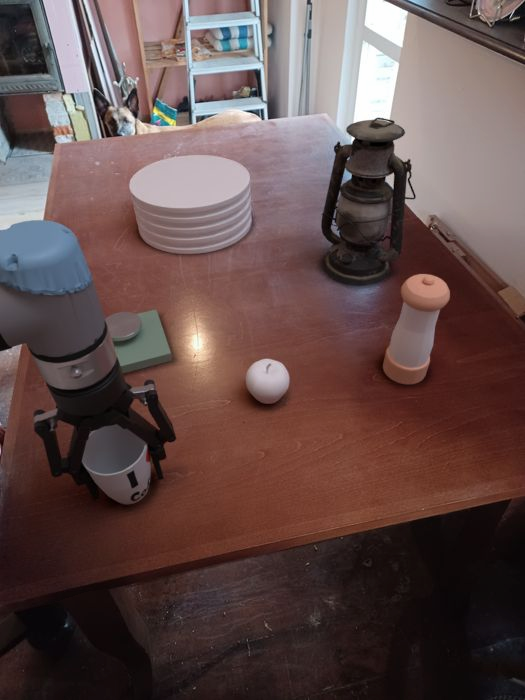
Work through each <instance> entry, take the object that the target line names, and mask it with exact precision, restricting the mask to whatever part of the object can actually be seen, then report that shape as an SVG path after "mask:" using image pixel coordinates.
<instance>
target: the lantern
mask: <svg viewBox="0 0 525 700" xmlns="http://www.w3.org/2000/svg"><path fill="white" fill-rule="evenodd" d="M345 131H346V133H347V134H348V136H350V137H352V138H354V139H353V140H352V141H351V143H349V144H343V145H341V141H337V142H336V144H335V145H334V146H333V152H334V154H335V155H334V159H333V164H332V169H331V174H330V179H329V183H328V188H327V193H326V197H325V203H324V207H323V211H322V213H321V222H320V223H321V224H320V228H321V232H322V235H323V236H324V238H325V239H326V240H327V241H328V242H329V243H331V244H332V245H331V246H330V247H329V249H328V253H327V254H326V256H325V258H324V260H323V262H322V265H323V270H324V272H325V274H327V276H329V278H331V279H333V280H334V281H337V282H338V283H341V284H345V285H348V286H355V287H356V286H357V287H358V286H359V287H363V286H371V285H374V284H375V285H376V284H378V283H380V282H382V281H384V280H385V279H386V278H387V277H388V276H389V273H390V271H391V270H390V264H389V263H390V262H394V261H396V260H397V259H398V258H399V257H400V255H401V253H402V245H403V233H404V222H405V221H404V220H405V219H404V218H405V206H406V200H416V198H417V197H416V193H415V190H414V188H413V186H412V185H413V184H412V183H411V178H412V176H413V175H412V171H411V170H412V166H413V164H411V158H408V159H407V161H404V160H403V159H401V158H400V157H399V156H397V155H396V154H395V146H396V145H395V143H394V141H397V140H399V139H401V138H403V137H404V136H405V134H406V131H405V129H404V128H403V127H402V126H401V125H398V124H397V123H396V122H395V121H394V120H392V119H389V118H384V117H376V118H374V119H364V120H360V121H356V122H353V123H351V124H349V125H347V127H346V129H345ZM345 171H346V172H347V173H349V174H350V175H351V177H350V179H348V180H346V181H345V182H344V183H343V180H344V175H345ZM408 174H409V176H408ZM391 175H393V185H392V186H391V185H390V184H389V183H388V182H387V181H386V179H387V177H390V176H391ZM407 183H408V185H409V188H410V190H411V193H412V195H413V197H409V196H406V194H407ZM333 222H334V223H335V224H333ZM332 226H333V227H336V232H338V234H336V233H335V232H334V231H333V229H332ZM389 226H390V234H389V235H386V232H387V230H388V229H389ZM386 239H389V249H387V250H386V249H385V248H384V247H383V246H382V245H381V244H379V243H380V242H384V241H385V240H386Z"/></svg>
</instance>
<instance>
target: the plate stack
mask: <svg viewBox="0 0 525 700" xmlns="http://www.w3.org/2000/svg"><path fill="white" fill-rule="evenodd" d="M128 187H129V193H130V195H131V201H132V204H133V210H134V211H133V212H134V214H135V220H136V224H137V228H138V233H139V235H140V237H141V239H142V240H143V241H144V242H145V243H146V244H147V245H148V246H151V247H152V248H154V249H157V250H159V251H163V252H166V253H172V254H177V255H178V254H179V255H197V254H198V255H199V254H206V253H211V252H215V251H219V250H223V249H225V248H228V247H230V246H232V245H234V244H236V243H237V242H239V241H241V240H242V239H244V237H245V236H246V235H247V234H248V233H249V232H250V230H251V227H252V219H253V218H252V196H251V192H252V191H251V190H252V189H251V175H250V172H249V171H248V169H247V168H246V167H245V166H244V165H242V164H241V163H239V162H237V161H236V160H232V159H230V158H227V157H222V156H217V155H209V154H189V155H188V154H187V155H180V156H179V155H178V156H172V157H168V158H164V159H161V160H158V161H154V162H152V163H150V164H147V165H145V166H143V167H142V168H141V169H139V170H138V171H136V172H135V173H134V175H132V177H131V178H130V180H129V185H128Z"/></svg>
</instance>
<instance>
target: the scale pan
mask: <svg viewBox="0 0 525 700" xmlns="http://www.w3.org/2000/svg"><path fill="white" fill-rule="evenodd" d="M137 314H138V313H134V312H131V311H119V312H114V313H112V314H110V315H109V316H107V317H105V321H106V324H107V325H108V329H109V332H110V335H111V338H112V341H123V340H127V339H130V338H132V337H134V336H135V335H137V334H138V333H139V332H140V330H141V328H142V322H141V318H140V317H139V316H138V315H137Z"/></svg>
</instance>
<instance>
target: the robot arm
mask: <svg viewBox="0 0 525 700" xmlns="http://www.w3.org/2000/svg"><path fill="white" fill-rule="evenodd" d="M105 319H106V317H105V314H104V312H103V308H102V305H101V301H100V298H99V296H98V292H97V289H96V286H95V282H94V279H93V274H92V273H91V270H90V268H89V265H88V262H87V260H86V257H85V254H84V252H83V249H82V247H81V244H80V241H79V239H78V237H77V236H76V235H75V234H74V232H73V231H72V230H71V229H70V228H69V227H67V226H66V225H64V224H63V223H59V222H56V221H51V220H46V219H45V220H44V219H33V220H32V219H31V220H25V221H20V222H16V223H13V224H11V225H10V226H9V228H6V229H0V352H4V351H8V350H11V349H13V347H17V346H21V345H23V344H26V346H27V348H28V350H29V353H30V355H31V356H32V358H33V361H34V363H35V365H36V367H37V369H38V371H39V372H40V375H41V377H42V379H43V380H44V382H45V384H46V387H47V389H48V391H49V393H50V395H51V397H52V399H53V401H54V403H55V408H53V409H52V410H49V411H46V410H45V409H36V410H34V412H33V431H34V433H36V435H38V436H39V437H40V438H41V439H42V442H43V446H44V450H45V454H46V458H47V462H48V466H49V470H50V474H51V477H53V478H60V477H61V476H62V475H63V474H68V475H70V476H71V478H72V479H73V481H74V483H75V485H76V486H78V487H81V486H84V485H85V487H86V488H87V491H88V493H89V494H90V496H91V498H92V500H93V501H94V502H95V501H98V500H100V499H101V497H100V490H99V486H98V485H97V484H96V483H95V482H94V480H93V479H92V477H91V476H90V474H89V472H88V471H87V469H86V468H85V466H84V465H83V463H82V458H83V454H84V450H85V446H86V441H87V440H88V438H89V435H90V434H91V432H93V431H95V430H98V429H100V428H102V427H105V426H112V425H116V424H117V425H119V426H120V427H121V428H123V429H124V430H125V429H128V430H129V431H131V432H132V433H134V434H135V435H136V436H138V437H139V438H140V439H142V440H143V441H145V442H146V443H147V444H148V448H149V453H150V458H151V463H152V465H153V469H154V471H155V474H156V478H157V480H158V481H161V480H163V479H165V478H164V474H163V470H162V466H161V462H160V461H164V460H166V459H167V453H166V448H165V444H166V443H173V442H175V441H176V440H177V436H176V433H175V429H174V425H173V422H172V421H171V419H170V417H169V415H168V413H167V412H166V410H165V408H164V407H163V405H162V403H161V401H160V400H159V394H158V390H157V387H156V383H155V381H154V379H146V380H145V381H144V383H143V385H141V386H132V385H131V384H130V383H128V382H127V381H126V379H125V376H124V373H123V372H122V369H121V366H120V363H119V360H118V358H117V356H116V351H115V347H114V344H113V341H112V338H111V335H110V332H109V329H108V325H107V324H106V321H105ZM135 400H138V402H140V404H142V406H144V407H147V409H148V412H149V414H150V416H151V417H152V419H153V421H154V422H155V424H156V426H157V427H158V428H159V429H158V428H157V427H156V426H155V425H153V424H152V423H151V422H150V421H148V420H147V419H146V418H144V416H142V415H141V414H140V413H138V412H137V411H136V410H134V408H132V407H131V405H132V404H133V402H134V401H135ZM59 421H61V422H63V423H65V424H67V425H70V426H73V429H72V433H71V437H70V438H71V439H70V443H69V448H68V451H67V452H66V457H62V455H61V450H60V445H59V440H58V436H57V430H56V429H57V428H58V422H59Z"/></svg>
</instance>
